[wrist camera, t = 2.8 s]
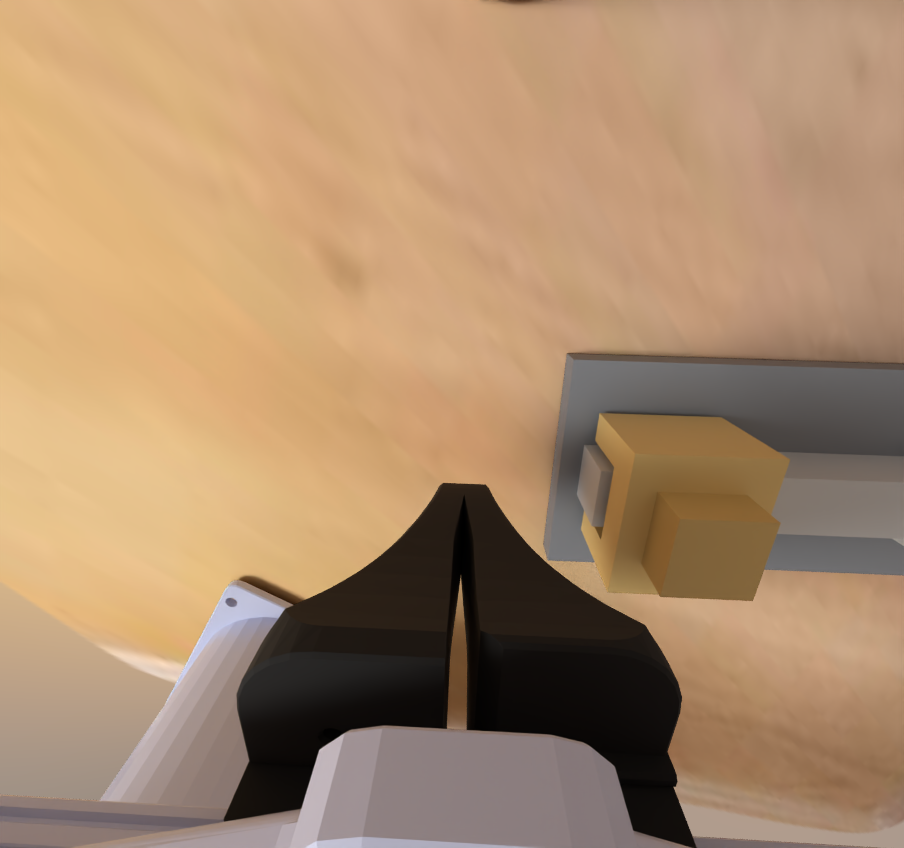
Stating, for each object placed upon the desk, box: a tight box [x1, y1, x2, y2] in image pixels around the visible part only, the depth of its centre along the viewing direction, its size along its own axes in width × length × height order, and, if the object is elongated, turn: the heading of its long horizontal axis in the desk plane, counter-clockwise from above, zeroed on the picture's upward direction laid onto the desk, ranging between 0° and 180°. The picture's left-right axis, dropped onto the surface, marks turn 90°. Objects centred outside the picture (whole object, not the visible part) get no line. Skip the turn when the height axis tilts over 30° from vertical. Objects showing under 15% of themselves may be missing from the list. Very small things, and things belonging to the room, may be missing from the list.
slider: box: [581, 413, 790, 601], centre depth 13 cm, size 4×5×4 cm
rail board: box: [543, 353, 904, 575], centre depth 14 cm, size 14×8×5 cm, turn 89°
